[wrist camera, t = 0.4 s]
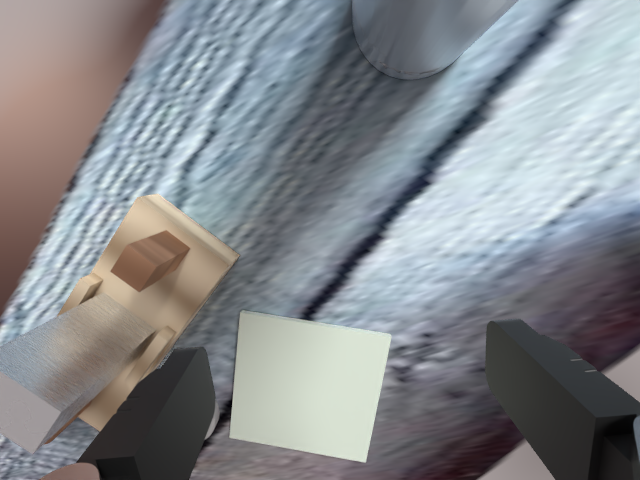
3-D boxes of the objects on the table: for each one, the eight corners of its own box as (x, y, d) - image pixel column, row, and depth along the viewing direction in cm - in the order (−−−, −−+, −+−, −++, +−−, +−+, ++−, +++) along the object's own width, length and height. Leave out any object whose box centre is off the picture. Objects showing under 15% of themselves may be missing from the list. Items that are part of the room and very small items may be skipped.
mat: (242, 309, 32) (240, 312, 31) (390, 333, 31) (391, 337, 30) (231, 433, 35) (229, 437, 34) (365, 457, 34) (365, 462, 34)
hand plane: (158, 193, 30) (90, 204, 22) (240, 255, 30) (203, 287, 23) (51, 362, 35) (-35, 419, 27) (124, 412, 35) (61, 482, 28)
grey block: (103, 292, 29) (-21, 357, 19) (156, 329, 29) (61, 412, 20) (82, 324, 30) (-46, 402, 20) (134, 360, 30) (32, 454, 21)
